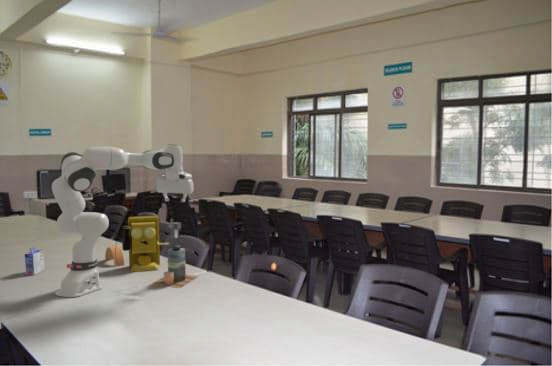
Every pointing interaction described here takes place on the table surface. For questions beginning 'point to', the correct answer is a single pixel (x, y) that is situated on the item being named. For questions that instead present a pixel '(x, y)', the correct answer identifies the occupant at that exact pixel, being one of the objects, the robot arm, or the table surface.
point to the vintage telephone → (142, 243)
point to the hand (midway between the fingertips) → (175, 201)
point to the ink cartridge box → (34, 262)
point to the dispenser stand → (176, 268)
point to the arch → (111, 255)
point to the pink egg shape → (169, 278)
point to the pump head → (175, 228)
